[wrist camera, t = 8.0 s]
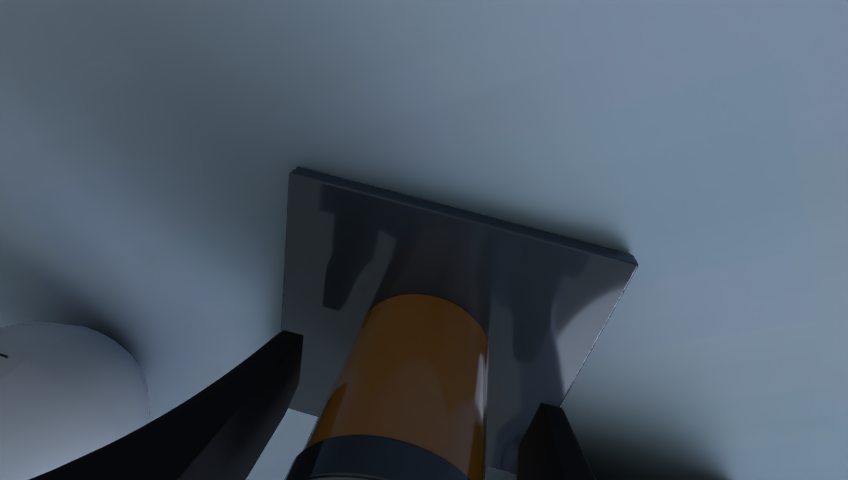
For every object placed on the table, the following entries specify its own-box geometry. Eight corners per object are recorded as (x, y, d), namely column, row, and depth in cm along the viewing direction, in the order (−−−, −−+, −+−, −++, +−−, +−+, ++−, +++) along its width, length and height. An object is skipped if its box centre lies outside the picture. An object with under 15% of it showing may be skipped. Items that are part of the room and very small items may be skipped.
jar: (471, 411, 15) (455, 622, 10) (348, 376, 15) (268, 565, 10) (510, 313, 13) (517, 519, 7) (366, 273, 13) (273, 448, 8)
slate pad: (521, 462, 17) (521, 476, 16) (283, 393, 17) (276, 405, 17) (633, 254, 12) (640, 265, 11) (297, 165, 12) (288, 172, 12)
